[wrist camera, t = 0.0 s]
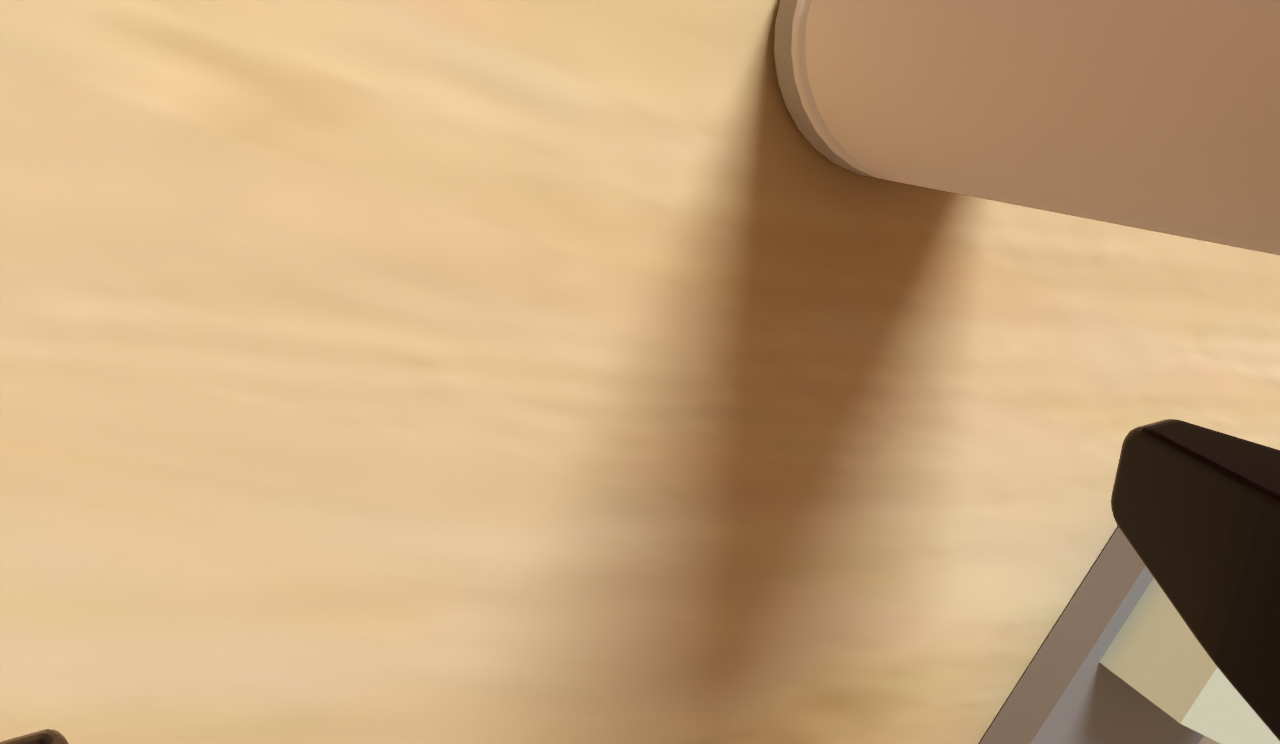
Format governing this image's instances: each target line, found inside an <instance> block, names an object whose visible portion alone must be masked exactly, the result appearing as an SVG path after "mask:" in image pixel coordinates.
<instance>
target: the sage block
mask: <svg viewBox="0 0 1280 744" xmlns="http://www.w3.org/2000/svg"><path fill="white" fill-rule="evenodd" d="M1099 662H1100V663H1101V664H1102V665H1104V666H1105V667H1106V668H1107V669H1109V670H1110V671H1111V672H1113V673H1114V674H1115V675H1117V676H1118V677H1119V678H1121V679H1122V680H1123V681H1125V682H1126V683H1127V684H1129V685H1130V686H1131V687H1133V688H1134V689H1135V690H1137V691H1138V692H1139V693H1140V694H1142V695H1143V696H1144V697H1146V698H1147V699H1148V700H1150V701H1151V702H1152V703H1154V704H1155V705H1156V706H1158V707H1159V708H1160V709H1162V710H1163V711H1164V712H1166V713H1167V714H1168V715H1169V716H1171V717H1172V718H1173V719H1175V720H1176V721H1177V722H1179V723H1180V724H1182V725H1184V726H1186V727H1188V728H1190V729H1192V730H1194V731H1196V732H1198V733H1200V734H1202V735H1204V736H1206V737H1208V738H1210V739H1212V740H1214V741H1216V742H1218V743H1220V744H1280V741H1279V740H1278V739H1277V737H1276V736H1275V735H1274V734H1273V733H1272V732H1271V730H1270V729H1269V728H1268V727H1267V726H1266V724H1265V723H1264V722H1263V721H1262V720H1261V719H1260V717H1259V716H1258V715H1257V714H1256V713H1255V711H1254V710H1253V709H1252V708H1251V707H1250V706H1249V704H1248V703H1247V702H1246V701H1245V700H1244V699H1243V697H1242V696H1241V695H1240V694H1239V693H1238V691H1237V690H1236V689H1235V688H1234V687H1233V686H1232V684H1231V683H1230V682H1229V681H1228V679H1227V678H1226V677H1225V676H1224V674H1223V673H1222V672H1221V671H1220V669H1219V668H1218V667H1217V666H1216V665H1215V663H1214V662H1213V661H1212V659H1211V658H1210V657H1209V655H1208V654H1207V653H1206V651H1205V650H1204V648H1203V647H1202V646H1201V644H1200V643H1199V642H1198V640H1197V639H1196V637H1195V636H1194V635H1193V633H1192V632H1191V630H1190V629H1189V627H1188V626H1187V625H1186V623H1185V622H1184V620H1183V619H1182V617H1181V616H1180V614H1179V613H1178V612H1177V610H1176V609H1175V607H1174V606H1173V604H1172V603H1171V602H1170V600H1169V599H1168V597H1167V596H1166V594H1165V593H1164V592H1163V590H1162V589H1161V587H1160V586H1159V584H1158V583H1157V581H1156V580H1155V579H1154V578H1153V580H1152V581H1151V583H1150V584H1149V586H1148V587H1147V589H1146V590H1145V592H1144V593H1143V595H1142V597H1141V598H1140V600H1139V601H1138V603H1137V604H1136V606H1135V607H1134V609H1133V610H1132V612H1131V614H1130V615H1129V617H1128V618H1127V620H1126V621H1125V623H1124V624H1123V626H1122V627H1121V629H1120V631H1119V632H1118V634H1117V635H1116V637H1115V638H1114V640H1113V641H1112V643H1111V644H1110V646H1109V647H1108V649H1107V651H1106V652H1105V654H1104V655H1103V657H1102V658H1101V660H1100V661H1099Z"/></svg>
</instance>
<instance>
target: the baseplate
mask: <svg viewBox="0 0 1280 744" xmlns="http://www.w3.org/2000/svg"><path fill="white" fill-rule="evenodd" d="M1153 578H1154V577H1153V576H1152V574H1151V573H1150V571H1149V570H1148V569H1147V567H1146V566H1145V564H1144V563H1143V561H1142V560H1141V558H1140V557H1139V556H1138V554H1137V553H1136V551H1135V550H1134V548H1133V547H1132V546H1131V544H1130V543H1129V541H1128V540H1127V538H1126V537H1125V535H1124V534H1123V533H1122V531H1121V530H1120V528H1119V526H1118V528H1117V530H1116V531H1115V533H1114V534H1113V536H1112V537H1111V539H1110V540H1109V542H1108V544H1107V545H1106V547H1105V548H1104V550H1103V551H1102V553H1101V555H1100V556H1099V558H1098V559H1097V561H1096V562H1095V564H1094V565H1093V567H1092V569H1091V570H1090V572H1089V573H1088V575H1087V576H1086V578H1085V579H1084V581H1083V583H1082V584H1081V586H1080V587H1079V589H1078V590H1077V592H1076V594H1075V595H1074V597H1073V598H1072V600H1071V601H1070V603H1069V604H1068V606H1067V608H1066V609H1065V611H1064V612H1063V614H1062V615H1061V617H1060V619H1059V620H1058V622H1057V623H1056V625H1055V626H1054V628H1053V629H1052V631H1051V633H1050V634H1049V636H1048V637H1047V639H1046V640H1045V642H1044V644H1043V645H1042V647H1041V648H1040V650H1039V651H1038V653H1037V654H1036V656H1035V658H1034V659H1033V661H1032V662H1031V664H1030V665H1029V667H1028V669H1027V670H1026V672H1025V673H1024V675H1023V676H1022V678H1021V679H1020V681H1019V683H1018V684H1017V686H1016V687H1015V689H1014V690H1013V692H1012V693H1011V695H1010V697H1009V698H1008V700H1007V701H1006V703H1005V704H1004V706H1003V708H1002V709H1001V711H1000V712H999V714H998V715H997V717H996V718H995V720H994V722H993V723H992V725H991V726H990V728H989V729H988V731H987V733H986V734H985V736H984V737H983V739H982V740H981V742H980V743H979V744H1220V743H1218V742H1216V741H1214V740H1212V739H1210V738H1208V737H1206V736H1204V735H1202V734H1200V733H1198V732H1196V731H1194V730H1192V729H1190V728H1188V727H1186V726H1184V725H1182V724H1180V723H1179V722H1177V721H1176V720H1175V719H1173V718H1172V717H1171V716H1169V715H1168V714H1167V713H1166V712H1164V711H1163V710H1162V709H1160V708H1159V707H1158V706H1156V705H1155V704H1154V703H1152V702H1151V701H1150V700H1148V699H1147V698H1146V697H1144V696H1143V695H1142V694H1140V693H1139V692H1138V691H1137V690H1135V689H1134V688H1133V687H1131V686H1130V685H1129V684H1127V683H1126V682H1125V681H1123V680H1122V679H1121V678H1119V677H1118V676H1117V675H1115V674H1114V673H1113V672H1111V671H1110V670H1109V669H1107V668H1106V667H1105V666H1104V665H1102V664H1101V663H1100V662H1099V661H1100V660H1101V658H1102V657H1103V655H1104V654H1105V652H1106V651H1107V649H1108V647H1109V646H1110V644H1111V643H1112V641H1113V640H1114V638H1115V637H1116V635H1117V634H1118V632H1119V631H1120V629H1121V627H1122V626H1123V624H1124V623H1125V621H1126V620H1127V618H1128V617H1129V615H1130V614H1131V612H1132V610H1133V609H1134V607H1135V606H1136V604H1137V603H1138V601H1139V600H1140V598H1141V597H1142V595H1143V593H1144V592H1145V590H1146V589H1147V587H1148V586H1149V584H1150V583H1151V581H1152V580H1153Z"/></svg>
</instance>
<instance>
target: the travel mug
mask: <svg viewBox="0 0 1280 744" xmlns="http://www.w3.org/2000/svg"><path fill="white" fill-rule="evenodd" d="M774 57H775V65H776V73H777V80H778V84H779V87H780V90H781V93H782V96H783V99H784V102H785V105H786V108H787V109H788V111H789V113H790V115H791V117H792V119H793V120H794V122H795V124H796V126H797V128H798V130H799V131H800V132H801V133H802V134H803V136H804V137H805V138H806V139H807V140H808V141H809V143H810V144H811V145H812V146H813V147H814V148H815V149H816V150H817V151H818V152H819V153H821V154H822V155H823V156H825V157H826V158H827V159H829V160H830V161H831V162H833V163H834V164H836V165H838V166H840V167H842V168H844V169H847V170H849V171H851V172H853V173H855V174H860V175H864V176H869V177H874V178H879V179H884V180H889V181H894V182H899V183H906V184H910V185H915V186H920V187H926V188H931V189H936V190H941V191H946V192H952V193H957V194H962V195H967V196H973V197H978V198H983V199H988V200H994V201H999V202H1004V203H1009V204H1014V205H1020V206H1025V207H1030V208H1035V209H1041V210H1046V211H1051V212H1056V213H1061V214H1067V215H1072V216H1077V217H1082V218H1088V219H1093V220H1098V221H1103V222H1109V223H1114V224H1119V225H1124V226H1129V227H1135V228H1140V229H1145V230H1150V231H1156V232H1161V233H1166V234H1171V235H1176V236H1182V237H1187V238H1192V239H1197V240H1203V241H1208V242H1213V243H1218V244H1223V245H1229V246H1234V247H1239V248H1244V249H1250V250H1255V251H1260V252H1265V253H1271V254H1276V255H1280V0H780V4H779V8H778V13H777V17H776V22H775V37H774Z"/></svg>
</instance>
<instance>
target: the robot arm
mask: <svg viewBox="0 0 1280 744" xmlns="http://www.w3.org/2000/svg"><path fill="white" fill-rule="evenodd" d="M1111 506H1112V512H1113V516H1114V518H1115V520H1116V523H1117V525H1118V526H1119V528H1120V530H1121V531H1122V533H1123V534H1124V535H1125V537H1126V538H1127V540H1128V541H1129V543H1130V544H1131V546H1132V547H1133V548H1134V550H1135V551H1136V553H1137V554H1138V556H1139V557H1140V558H1141V560H1142V561H1143V563H1144V564H1145V566H1146V567H1147V569H1148V570H1149V571H1150V573H1151V574H1152V576H1153V577H1154V579H1155V580H1156V581H1157V583H1158V584H1159V586H1160V587H1161V589H1162V590H1163V592H1164V593H1165V594H1166V596H1167V597H1168V599H1169V600H1170V602H1171V603H1172V604H1173V606H1174V607H1175V609H1176V610H1177V612H1178V613H1179V614H1180V616H1181V617H1182V619H1183V620H1184V622H1185V623H1186V625H1187V626H1188V627H1189V629H1190V630H1191V632H1192V633H1193V635H1194V636H1195V637H1196V639H1197V640H1198V642H1199V643H1200V644H1201V646H1202V647H1203V648H1204V650H1205V651H1206V653H1207V654H1208V655H1209V657H1210V658H1211V659H1212V661H1213V662H1214V663H1215V665H1216V666H1217V667H1218V668H1219V669H1220V671H1221V672H1222V673H1223V674H1224V676H1225V677H1226V678H1227V679H1228V681H1229V682H1230V683H1231V684H1232V686H1233V687H1234V688H1235V689H1236V690H1237V691H1238V693H1239V694H1240V695H1241V696H1242V697H1243V699H1244V700H1245V701H1246V702H1247V703H1248V704H1249V706H1250V707H1251V708H1252V709H1253V710H1254V711H1255V713H1256V714H1257V715H1258V716H1259V717H1260V719H1261V720H1262V721H1263V722H1264V723H1265V724H1266V726H1267V727H1268V728H1269V729H1270V730H1271V732H1272V733H1273V734H1274V735H1275V736H1276V737H1277V739H1278V740H1279V741H1280V450H1277V449H1273V448H1270V447H1267V446H1263V445H1260V444H1257V443H1253V442H1250V441H1247V440H1243V439H1240V438H1237V437H1233V436H1230V435H1227V434H1223V433H1220V432H1217V431H1213V430H1210V429H1207V428H1204V427H1200V426H1197V425H1194V424H1190V423H1187V422H1184V421H1180V420H1173V419H1169V420H1163V421H1159V422H1155V423H1152V424H1148V425H1144V426H1141V427H1137V428H1135V429H1133V430H1131V431H1130V432H1129V433H1128V435H1127V436H1126V437H1125V439H1124V442H1123V445H1122V450H1121V454H1120V459H1119V464H1118V469H1117V473H1116V478H1115V483H1114V487H1113V492H1112V498H1111ZM0 744H68V742H67V740H66V739H65V737H64V736H63V735H62V734H61V733H59V732H58V731H56V730H50V729H47V730H42V731H38V732H35V733H31V734H27V735H24V736H20V737H17V738H13V739H9V740H6V741H2V742H0Z"/></svg>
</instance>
